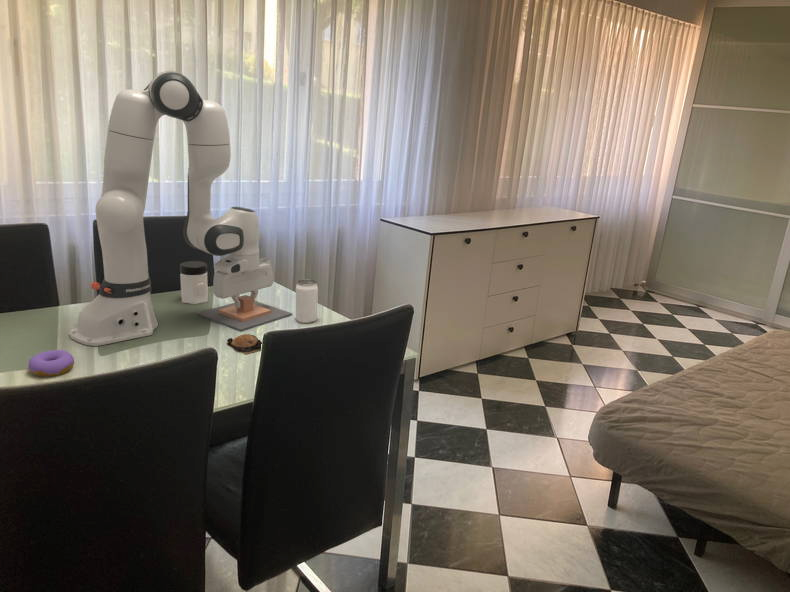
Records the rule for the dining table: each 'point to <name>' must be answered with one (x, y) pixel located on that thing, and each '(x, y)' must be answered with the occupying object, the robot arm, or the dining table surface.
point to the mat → (242, 326)
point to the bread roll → (245, 344)
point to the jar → (194, 282)
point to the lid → (245, 310)
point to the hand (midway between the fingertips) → (245, 305)
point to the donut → (51, 363)
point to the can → (306, 301)
